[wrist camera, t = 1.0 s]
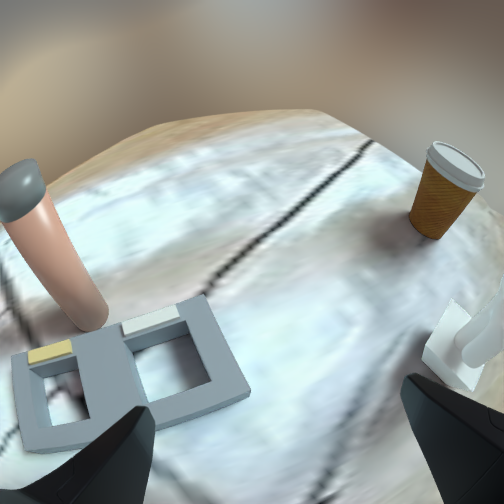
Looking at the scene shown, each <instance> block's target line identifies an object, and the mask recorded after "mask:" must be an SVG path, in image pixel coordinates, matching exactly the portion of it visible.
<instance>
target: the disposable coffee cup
mask: <svg viewBox="0 0 504 504" xmlns="http://www.w3.org/2000/svg"><path fill="white" fill-rule="evenodd" d="M426 152H427V155H426V157H427V160H426V164H425V167H424V171H423V174H422V177H421V181H420V184H419V187H418V191H417V194H416V197H415V200H414V203H413V206H412V209H411V212H410V214H409V218H410V221H411V223H412V225H413V226H414V227H415V228H416V229H417V230H418V231H419V232H420V233H422V234H423V235H425V236H427V237H429V238H432V239H440V238H441V237H442V236H443V235H444V234H445V232H446V231H447V230H448V229H449V228H450V226H451V225H452V224H453V223H454V221H455V220H456V219H457V218H458V217H459V215H460V214H461V213H462V211H463V210H464V209H465V208H466V206H467V205H468V204H469V202H470V201H471V200H472V198H473V197H474V196H475V194H476V193H477V192H479V191H480V190H482V189H483V188H484V179H485V173H484V172H483V170H482V169H481V168H480V166H479V165H478V164H477V163H476V162H475V161H474V160H473V159H471V158H470V157H469V156H467V155H466V154H465V153H463V152H462V151H460V150H458V149H457V148H455V147H453V146H451V145H449V144H446V143H444V142H439V141H435V142H433V143H432V145H431V146H430V147H428V148H427V150H426Z"/></svg>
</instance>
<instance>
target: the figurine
mask: <svg viewBox="0 0 504 504" xmlns="http://www.w3.org/2000/svg"><path fill="white" fill-rule="evenodd" d="M503 350H504V274H503V276H502V279H501V283H500V287H499V290H498V292H497V293H496V295H495V296H494V297H493V298H492V300H491V301H490V302H489V303H488V304H487V305H486V306H485V307H484V308H483V309H482V310H481V311H480V312H479V313H478V314H476V315H475V316H474V317H473V318H472V317H471V316H470V315H469V314H468V313H467V312H466V311H465V310H464V309H463V308H462V307H461V306H460V305H459V304H458V303H457V302H456V301H455V300H454V299H453V298H452V299H451V301H450V303H449V305H448V306H447V308H446V310H445V312H444V314H443V316H442V317H441V319H440V321H439V323H438V324H437V326H436V328H435V329H434V331H433V333H432V334H431V336H430V338H429V339H428V341H427V343H426V344H425V347H424V351H423V355H422V359H421V360H422V361H423V362H424V363H425V364H426V365H427V366H428V367H429V368H430V369H431V370H432V371H433V372H434V373H435V374H436V375H437V376H438V377H439V378H440V379H441V380H442V381H443V382H444V383H445V384H446V385H448V386H452V387H455V388H459V389H463V390H466V391H470V392H473V391H474V389H475V386H476V384H477V382H478V380H479V377H480V375H481V372H482V370H483V368H484V365H485V363H486V362H487V361H489V360H490V359H492V358H493V357H495V356H496V355H497V354H499V353H500V352H501V351H503Z"/></svg>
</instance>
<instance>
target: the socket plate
mask: <svg viewBox="0 0 504 504" xmlns="http://www.w3.org/2000/svg"><path fill="white" fill-rule="evenodd" d="M188 333H190V335H191V338H192V340H193V342H194V345H195V347H196V349H197V352H198V354H199V356H200V359H201V361H202V363H203V365H204V368H205V370H206V372H207V374H208V376H209V379H210V381H211V382H208V383H205V384H203V385H200V386H197V387H195V388H192V389H189V390H186V391H184V392H181V393H178V394H175V395H172V396H169V397H166V398H163V399H160V400H157V401H153V402H150V403H149V402H148V400H147V397H146V394H145V391H144V388H143V385H142V382H141V379H140V376H139V373H138V370H137V367H136V363H135V360H134V357H133V353H132V352H136V351H139V350H142V349H145V348H148V347H151V346H154V345H157V344H160V343H163V342H166V341H169V340H171V339H174V338H177V337H180V336H183V335H186V334H188ZM11 363H12V377H13V387H14V396H15V403H16V410H17V416H18V421H19V426H20V431H21V436H22V440H23V445H24V449H25V450H26V451H30V452H35V453H40V454H44V453H53V452H61V451H68V450H75V449H81V448H85V447H86V446H87V445H89V444H90V443H91V442H92V441H94V440H95V439H96V438H97V437H99V436H100V435H101V434H102V433H103V432H105V431H106V430H107V429H108V428H110V427H111V426H112V425H113V424H114V423H116V422H117V421H118V420H119V419H120V418H122V417H123V416H124V415H125V414H126V413H128V412H129V411H130V410H131V409H132V408H134V407H135V406H137V405H141V406H147V407H148V408H149V410H150V412H151V414H152V416H153V418H154V420H155V423H156V428H155V431H158V430H161V429H164V428H167V427H171V426H174V425H177V424H180V423H183V422H186V421H189V420H192V419H194V418H197V417H200V416H203V415H205V414H208V413H211V412H213V411H216V410H219V409H221V408H224V407H226V406H229V405H231V404H233V403H236V402H238V401H241V400H243V399H245V398H248V397H249V396H250V393H251V388H250V386H249V385H248V383H247V381H246V379H245V377H244V375H243V373H242V371H241V369H240V367H239V365H238V364H237V362H236V360H235V358H234V356H233V354H232V352H231V350H230V348H229V346H228V344H227V342H226V340H225V338H224V336H223V334H222V332H221V329H220V327H219V325H218V323H217V321H216V319H215V317H214V315H213V313H212V311H211V309H210V306H209V304H208V302H207V300H206V298H205V296H204V294H203V295H200V296H197V297H194V298H191V299H188V300H185V301H182V302H180V303H177V304H174V305H171V306H168V307H165V308H162V309H159V310H156V311H153V312H150V313H147V314H144V315H141V316H138V317H135V318H132V319H129V320H126V321H123V322H120V323H117V324H114V325H111V326H108V327H104V328H101V329H98V330H95V331H92V332H89V333H86V334H83V335H79V336H76V337H73V338H70V339H66V340H63V341H60V342H57V343H53V344H50V345H47V346H44V347H40V348H37V349H33V350H30V351H27V352H23V353H20V354H16V355H13V356H11ZM76 369H79V372H80V377H81V382H82V387H83V391H84V395H85V399H86V403H87V407H88V411H89V415H90V418H91V419H87V420H82V421H77V422H73V423H68V424H62V425H57V426H52V423H51V419H50V414H49V409H48V404H47V399H46V393H45V387H44V380H43V378H46V377H50V376H54V375H58V374H61V373H65V372H69V371H72V370H76Z"/></svg>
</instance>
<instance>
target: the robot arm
mask: <svg viewBox="0 0 504 504" xmlns="http://www.w3.org/2000/svg"><path fill="white" fill-rule="evenodd" d="M400 395H401V399H402V402H403V405H404V408H405V411H406V413H407V416H408V419H409V422H410V425H411V428H412V431H413V433H414V435H415V437H416V439H417V442H418V444H419V446H420V448H421V450H422V452H423V455H424V457H425V459H426V461H427V464H428V466H429V468H430V471H431V473H432V475H433V478H434V480H435V482H436V485H437V487H438V490H439V492H440V495H441V497H442V500H443V502H444V504H504V414H503V413H501V412H498V411H496V410H494V409H491V408H489V407H488V408H487V406H485V405H482V404H480V403H478V402H476V401H474V400H472V399H469V398H467V397H465V396H463V395H461V394H459V393H457V392H455V391H452V390H450V389H448V388H446V387H444V386H442V385H440V384H438V383H436V382H434V381H432V380H430V379H428V378H426V377H424V376H422V375H420V374H418V373H412V374H409V375H406V376H405V377H404V380H403V384H402V388H401V392H400ZM155 428H156V423H155V420H154V418H153V416H152V414H151V412H150V410H149V408H148V407H147V406H141V405H137V406H135V407H134V408H132V409H131V410H130V411H129V412H128V413H126V414H125V415H124V416H123V417H122V418H120V419H119V420H118V421H117V422H116V423H114V424H113V425H112V426H111V427H110V428H108V429H107V430H106V431H105V432H103V433H102V434H101V435H100V436H99V437H97V438H96V439H95V440H94V441H92V442H91V443H90V444H89V445H87V446H86V447H85V448H84V449H82V450H81V451H80V452H78V453H77V454H76V455H75V456H73V458H71V459H69V460H68V461H67V462H65V463H64V464H63V465H61V466H60V467H58V468H57V469H56V470H54V471H52V472H51V473H49V474H48V475H46V476H44V477H42V478H41V479H39V480H37V481H35V482H34V483H32V484H30V485H28V486H26V487H24V488H21V489H17V490H7V489H0V504H143V501H144V496H145V491H146V486H147V482H148V477H149V472H150V468H151V463H152V456H153V446H154V437H155Z"/></svg>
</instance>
